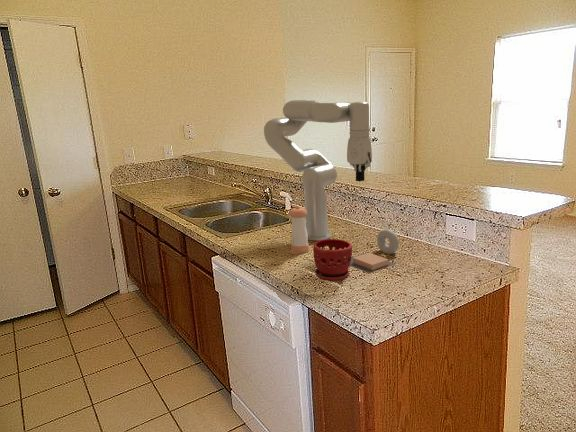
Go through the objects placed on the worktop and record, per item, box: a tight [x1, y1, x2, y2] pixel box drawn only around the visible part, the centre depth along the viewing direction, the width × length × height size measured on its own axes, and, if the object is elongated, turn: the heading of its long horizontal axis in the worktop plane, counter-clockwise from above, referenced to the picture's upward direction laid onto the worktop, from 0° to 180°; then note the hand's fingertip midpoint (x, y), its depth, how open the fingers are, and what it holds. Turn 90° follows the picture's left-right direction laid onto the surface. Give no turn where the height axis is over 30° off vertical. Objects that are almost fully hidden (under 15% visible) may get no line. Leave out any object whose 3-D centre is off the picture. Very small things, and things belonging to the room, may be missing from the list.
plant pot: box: [312, 238, 353, 282], centre depth 150 cm, size 13×13×12 cm
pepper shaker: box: [288, 205, 310, 256], centre depth 176 cm, size 7×7×19 cm
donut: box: [376, 228, 400, 255], centre depth 170 cm, size 10×4×10 cm, turn 35°
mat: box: [349, 252, 396, 274], centre depth 161 cm, size 16×13×1 cm
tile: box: [352, 252, 390, 270], centre depth 159 cm, size 2×8×10 cm
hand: (360, 180), depth 176 cm, fingers closed
